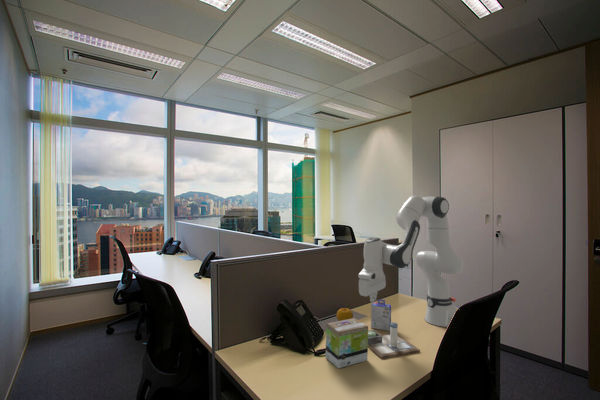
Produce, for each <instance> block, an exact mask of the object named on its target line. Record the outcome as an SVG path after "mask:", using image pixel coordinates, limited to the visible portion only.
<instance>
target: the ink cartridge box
mask: <svg viewBox="0 0 600 400" xmlns="http://www.w3.org/2000/svg"><path fill="white" fill-rule="evenodd" d="M370 318H371V319H370V328H371V329H374V330H381V331H386V332H390V323H392V305H391V304H388V303H386V300H385V299H381V298H380V299H379V298H378V299H377V302H371V305H370Z"/></svg>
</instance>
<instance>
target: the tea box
mask: <svg viewBox="0 0 600 400" xmlns="http://www.w3.org/2000/svg"><path fill="white" fill-rule="evenodd" d="M325 331H326V332H325V358H326V359H327V360H328V361H329V362H330V363H331V364H332V365H334V366H335V367H336V368H337V369H341V368H344V367H349V366H353V365H355V364H358V363H362V362H367V361H368V354H369V353H368V352H369V351H368V350H369V348H368V331H369V325H367V324H365V323H364V322H362V321H360V320H358V319H357V318H355V317H353V318H352V319H347V320H342V321H338V320H337V321H332V322H327V323H326V330H325Z"/></svg>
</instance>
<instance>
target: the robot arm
mask: <svg viewBox="0 0 600 400" xmlns="http://www.w3.org/2000/svg"><path fill="white" fill-rule="evenodd" d="M449 209H450V204H449V201H448V200H447V199H446V198H445V197H442V196H431V195H429V196H419V195H411V196H409V197H408V198H407V199H406V200H405V201H404V202H403V204H402V205H401V207H400V208H399V210H398V212H397V213H396V217H395V219H396V223H397V224H398V226H399V227H400V228H401V229H402V230H404V231H405V234H404V236H403V239H402V242H401V243H400V244H399V245H398V244H397V245H395V244H390V243H387V242H384V241H382V239H381V237H370V238H368V239H366V240H365V241H364V245H363V260H364V261H363V267H362V269H361V270H360V272H359V273H358V275H357V276H358V278H359V279H358V292H359V293H358V294H359V295H360V296H362V297H366V298H367V297H368V296H369V301H370V303H375V302H376V301H377V297H378V296H377V295H378V292H379V291H381V290H384V289H386V285H387V282H386V274H385V273H384V269H383V267H384V266H383V264H385V265H390V266H393V267H396V268H399V269H404V268H406V267H407V266H409V264H410V263H411V262H412V261H411V260H412V256H413V251H414V249H415V246H416V243H417V241H418V238H419V235H420V230H421V225H420V223H419V221H420V219H421V218H422V217H425V218H426V240H427V242H428V244H430V245H431V246H432V247H434V249H435V251H433V250H421V251H418V252H417V253H416V256H415V263H416V265H417V267H419V268H420V269H421V270H422V272H423V273H424V276H425V278H426V284H427V294H426V302H427V304H426V311H425V317H424V321H425V322H427V323H428V324H430V325H432V326H433V325H434V326H436V327H437V326H438V327H444V328H448V325H449V323H450V321H451V319H452V317H453V315H454V313H455V312H456V310H457V309H459V308H458V307H457V306H456V305H454V304H453V303H455V302H456V301H457V299H456V298H455V297H451V296H450V283H449V281H448V280H447V279H446V278H444V277H443V276H442V274H441V273H444V274H449V275H451V274H452V275H456V274H457V275H458V274H460V273H461V272H462V271H463V269H464V261H463V258H461V256H460V255H458V254H457V253H456V252H455V251H454V249H453V247H452V244H451V241H450V236H449V235H450V234H449V233H450V232H449V220H448V215H447V214H448V212H449Z"/></svg>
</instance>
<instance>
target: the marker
mask: <svg viewBox="0 0 600 400" xmlns="http://www.w3.org/2000/svg"><path fill="white" fill-rule="evenodd" d="M389 333H390V345H391V347H392V348H394V349H395V348H397V334H398V323H397V322H392V321H391V323H390V331H389Z"/></svg>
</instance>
